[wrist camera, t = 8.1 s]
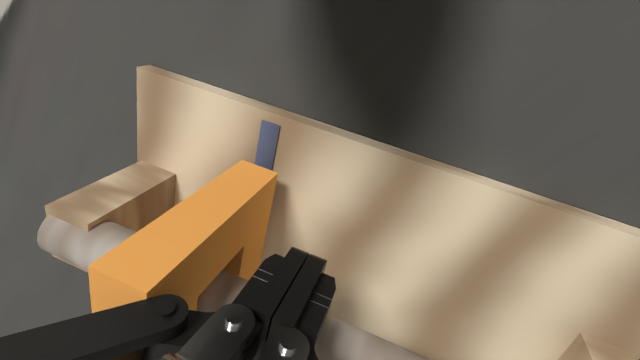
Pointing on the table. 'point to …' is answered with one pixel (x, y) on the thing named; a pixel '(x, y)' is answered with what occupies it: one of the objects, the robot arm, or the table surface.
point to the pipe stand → (375, 234)
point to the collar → (190, 242)
